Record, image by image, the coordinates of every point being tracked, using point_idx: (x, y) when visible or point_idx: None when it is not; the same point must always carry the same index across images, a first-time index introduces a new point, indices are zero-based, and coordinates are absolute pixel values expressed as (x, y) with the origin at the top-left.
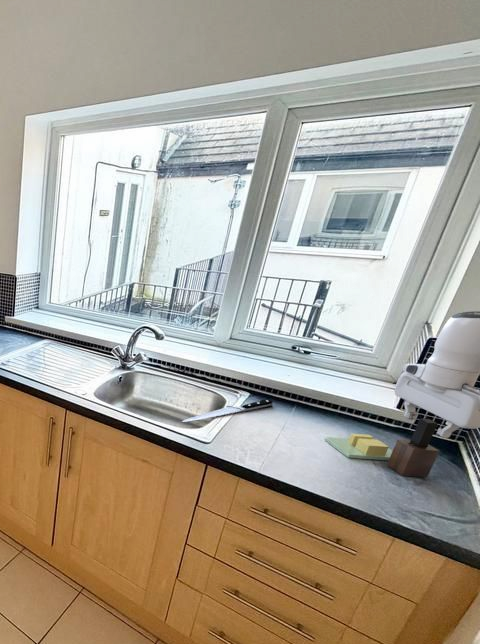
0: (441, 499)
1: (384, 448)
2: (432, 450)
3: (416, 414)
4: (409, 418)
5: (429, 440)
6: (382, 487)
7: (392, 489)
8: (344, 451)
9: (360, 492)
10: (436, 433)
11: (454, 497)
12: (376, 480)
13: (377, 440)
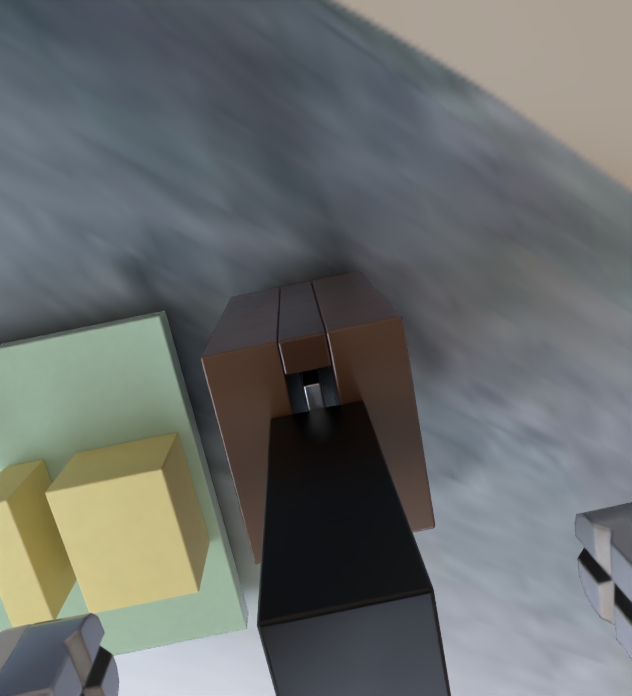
0: (567, 305)
1: (172, 484)
2: (411, 379)
3: (59, 693)
4: (117, 689)
5: (376, 440)
6: (512, 543)
7: (521, 505)
8: (205, 636)
9: (586, 655)
10: (591, 600)
11: (527, 213)
12: (444, 541)
13: (65, 500)
